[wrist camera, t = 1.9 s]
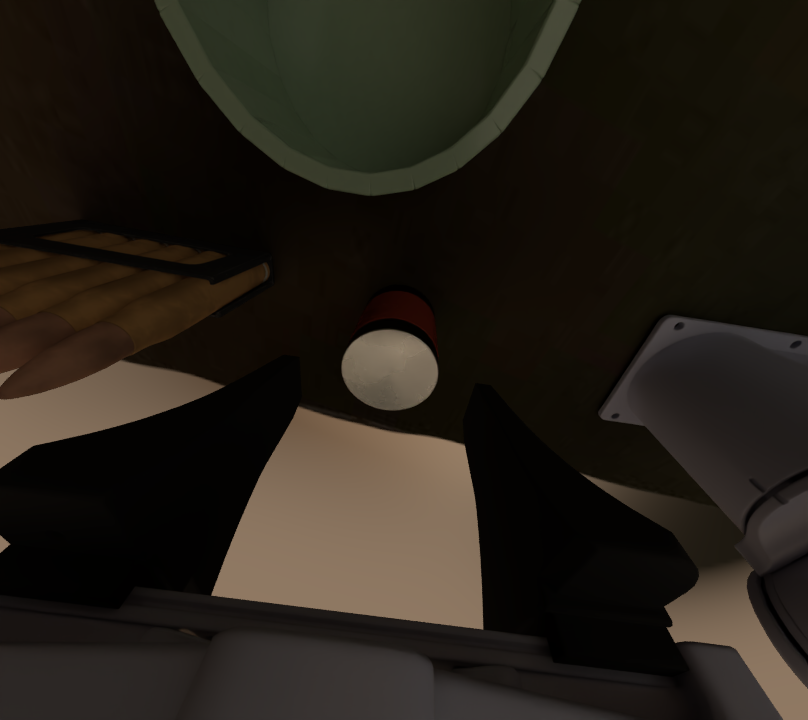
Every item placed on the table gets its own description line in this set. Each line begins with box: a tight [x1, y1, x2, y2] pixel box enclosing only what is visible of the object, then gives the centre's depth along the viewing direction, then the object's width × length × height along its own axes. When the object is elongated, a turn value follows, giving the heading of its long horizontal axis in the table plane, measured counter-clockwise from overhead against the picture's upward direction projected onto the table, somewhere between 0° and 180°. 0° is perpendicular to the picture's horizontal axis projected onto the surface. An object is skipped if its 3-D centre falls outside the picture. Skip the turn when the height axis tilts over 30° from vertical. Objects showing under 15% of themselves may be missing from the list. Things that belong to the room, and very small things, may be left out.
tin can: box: [341, 285, 439, 410], centre depth 15 cm, size 4×4×6 cm
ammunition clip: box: [0, 220, 274, 399], centre depth 12 cm, size 11×2×12 cm, turn 81°
